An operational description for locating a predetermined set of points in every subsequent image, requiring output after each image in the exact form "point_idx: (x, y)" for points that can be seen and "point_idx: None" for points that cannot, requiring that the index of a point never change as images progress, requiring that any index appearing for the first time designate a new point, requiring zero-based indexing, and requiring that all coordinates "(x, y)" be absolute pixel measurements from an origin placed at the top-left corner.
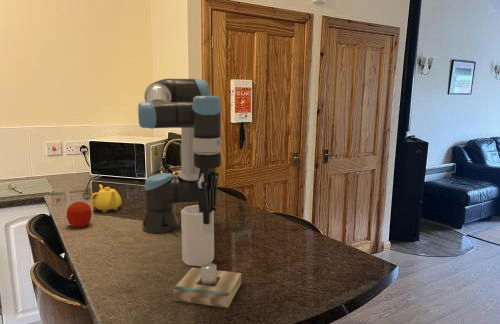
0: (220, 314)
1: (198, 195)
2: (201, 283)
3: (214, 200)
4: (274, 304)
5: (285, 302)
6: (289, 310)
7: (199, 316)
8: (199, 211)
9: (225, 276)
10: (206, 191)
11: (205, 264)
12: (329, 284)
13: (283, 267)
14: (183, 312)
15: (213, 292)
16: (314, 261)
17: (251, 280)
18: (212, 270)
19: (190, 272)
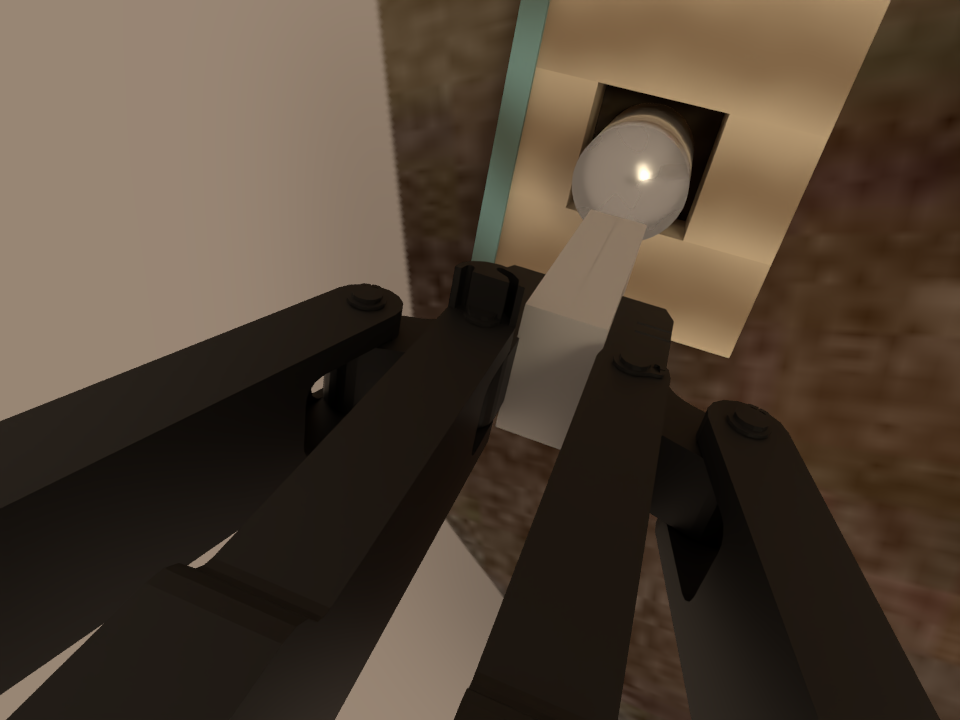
0: (437, 225)
1: (22, 435)
2: (618, 117)
3: (669, 583)
4: (524, 443)
5: (540, 484)
6: (484, 483)
7: (413, 127)
8: (341, 289)
9: (692, 267)
10: (1, 654)
11: (666, 159)
12: (679, 663)
13: (903, 561)
14: (438, 35)
15: (489, 205)
16: (945, 705)
17: (763, 385)
18: (582, 214)
19: (788, 4)
